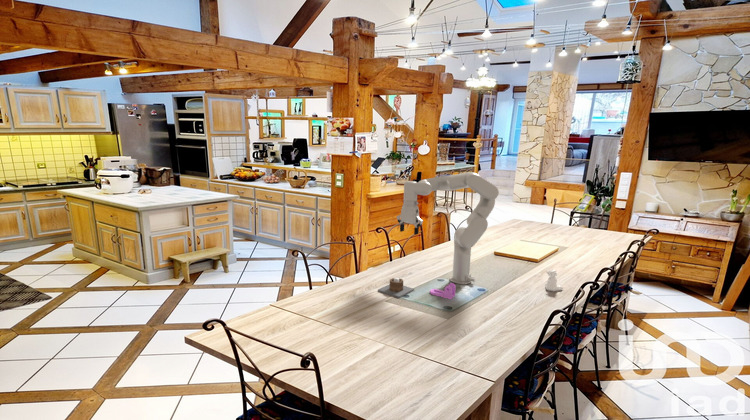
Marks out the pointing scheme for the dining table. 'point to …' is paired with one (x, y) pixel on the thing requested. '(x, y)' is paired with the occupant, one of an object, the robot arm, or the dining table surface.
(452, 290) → the bracket
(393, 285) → the collar
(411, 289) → the post
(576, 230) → the dining table surface
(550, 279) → the seated beast figurine
